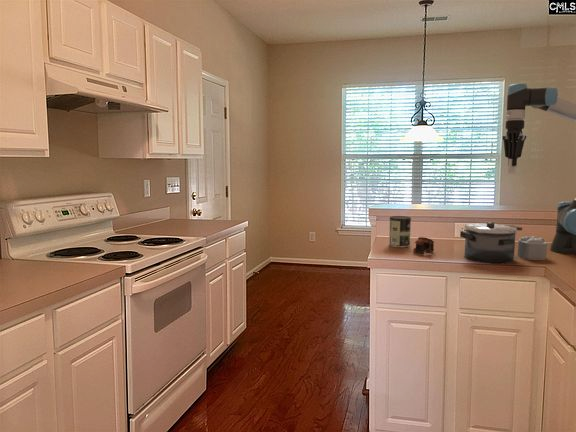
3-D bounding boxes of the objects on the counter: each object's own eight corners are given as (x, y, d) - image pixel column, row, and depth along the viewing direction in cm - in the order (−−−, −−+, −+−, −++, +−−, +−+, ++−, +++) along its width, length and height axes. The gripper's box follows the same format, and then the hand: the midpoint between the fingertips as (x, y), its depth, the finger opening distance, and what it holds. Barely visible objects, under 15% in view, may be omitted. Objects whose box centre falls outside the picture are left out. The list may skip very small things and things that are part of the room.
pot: (490, 250, 225) (492, 225, 224) (528, 263, 201) (530, 235, 199) (447, 253, 220) (448, 227, 219) (480, 266, 196) (482, 237, 194)
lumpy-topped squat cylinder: (523, 259, 209) (524, 239, 207) (513, 252, 221) (514, 234, 220) (548, 260, 207) (550, 240, 206) (537, 253, 220) (539, 234, 219)
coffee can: (410, 243, 242) (411, 216, 240) (409, 248, 232) (410, 219, 230) (389, 242, 244) (390, 215, 242) (387, 246, 235) (388, 218, 233)
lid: (501, 225, 222) (501, 218, 222) (533, 233, 202) (534, 225, 201) (455, 227, 217) (455, 220, 216) (483, 235, 197) (484, 227, 196)
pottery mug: (407, 252, 224) (412, 236, 226) (423, 260, 227) (428, 244, 229) (423, 251, 213) (428, 234, 215) (440, 259, 216) (444, 242, 218)
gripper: (498, 120, 219) (495, 172, 222) (517, 119, 206) (514, 174, 209) (512, 120, 220) (509, 172, 224) (533, 119, 208) (529, 174, 211)
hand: (511, 173), depth 217 cm, fingers closed
